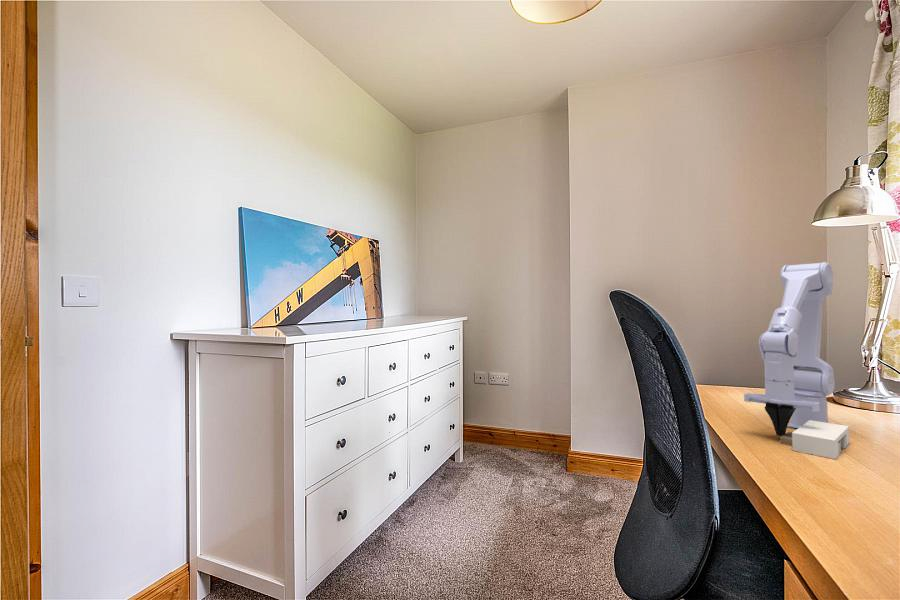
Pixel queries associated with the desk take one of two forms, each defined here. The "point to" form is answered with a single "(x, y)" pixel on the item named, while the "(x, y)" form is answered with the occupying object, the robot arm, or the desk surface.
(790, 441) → the walnut panel
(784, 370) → the robot arm
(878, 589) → the desk surface
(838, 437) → the white shelf
